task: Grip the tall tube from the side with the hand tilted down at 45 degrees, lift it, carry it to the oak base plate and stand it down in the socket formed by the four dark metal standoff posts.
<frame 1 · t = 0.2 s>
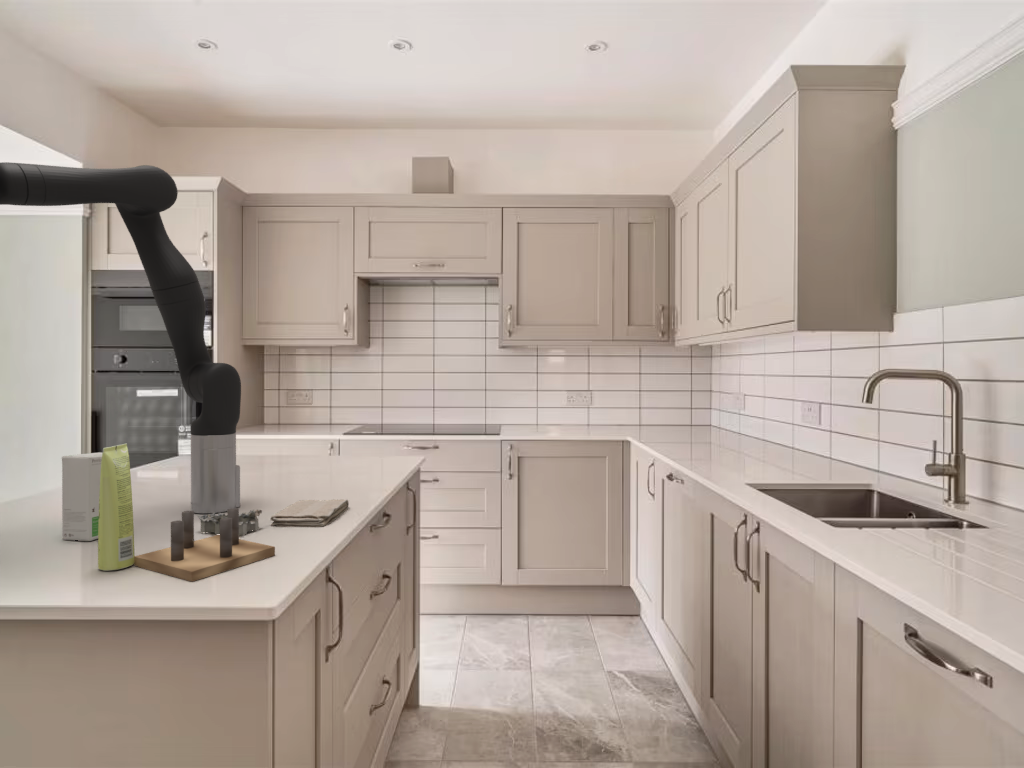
tube: (117, 567, 97), on the countertop
egg carton: (229, 533, 119), on the countertop
cradle: (206, 560, 100), on the countertop
skincare box: (94, 536, 115), on the countertop
washcloth: (311, 519, 131), on the countertop
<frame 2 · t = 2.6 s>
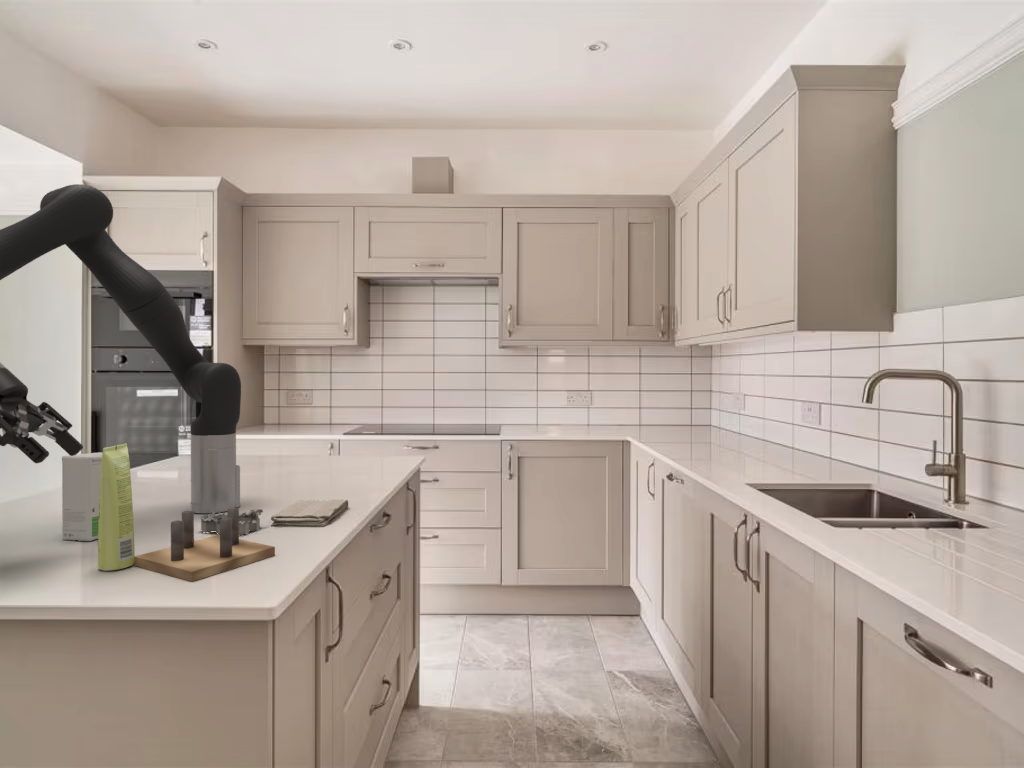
hand: (61, 455, 96), 18 cm above the countertop, tool tilted 45°, fingers open, 8 cm apart
nothing on the countertop moved.
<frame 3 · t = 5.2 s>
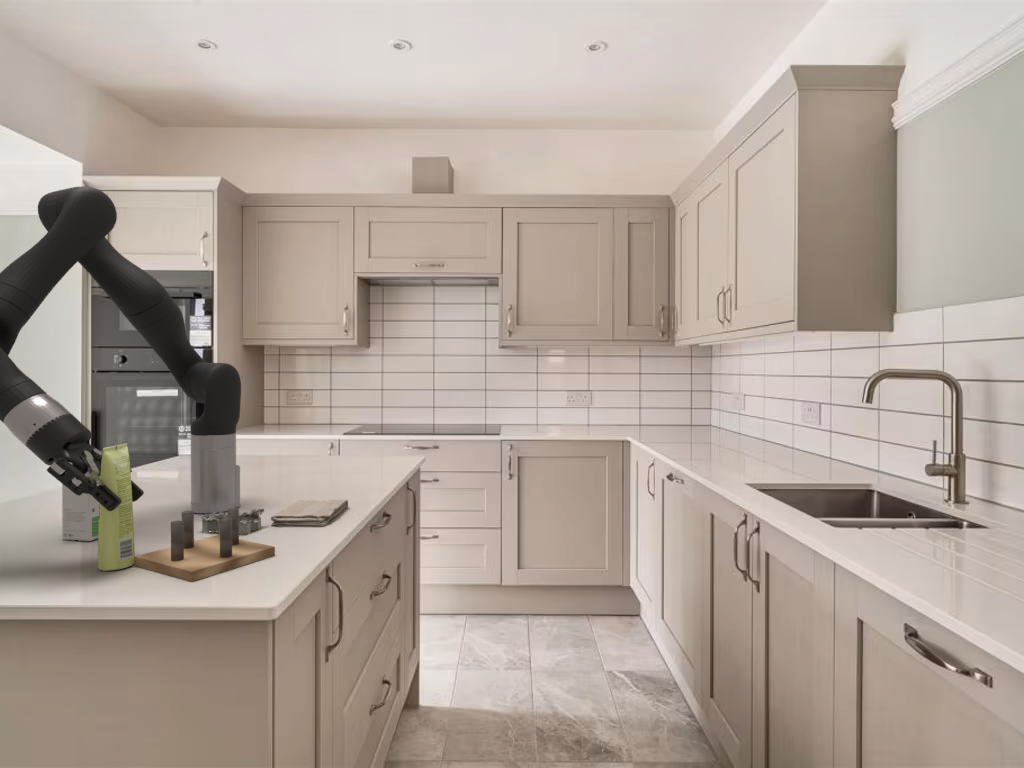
hand: (128, 501, 97), 10 cm above the countertop, tool tilted 45°, fingers closed on tube, 6 cm apart
tube: (117, 567, 97), on the countertop, touching gripper
everything else where it was.
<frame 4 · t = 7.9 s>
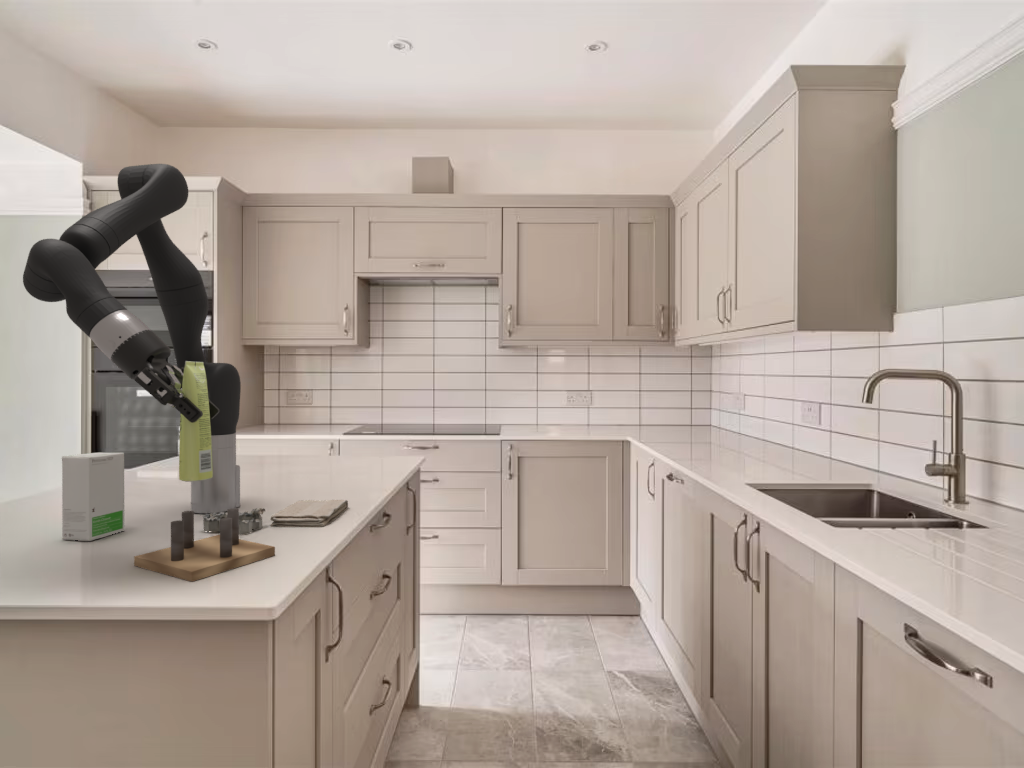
hand: (206, 416, 100), 24 cm above the countertop, tool tilted 45°, fingers closed on tube, 6 cm apart
tube: (196, 480, 100), point 13 cm above the countertop, touching gripper
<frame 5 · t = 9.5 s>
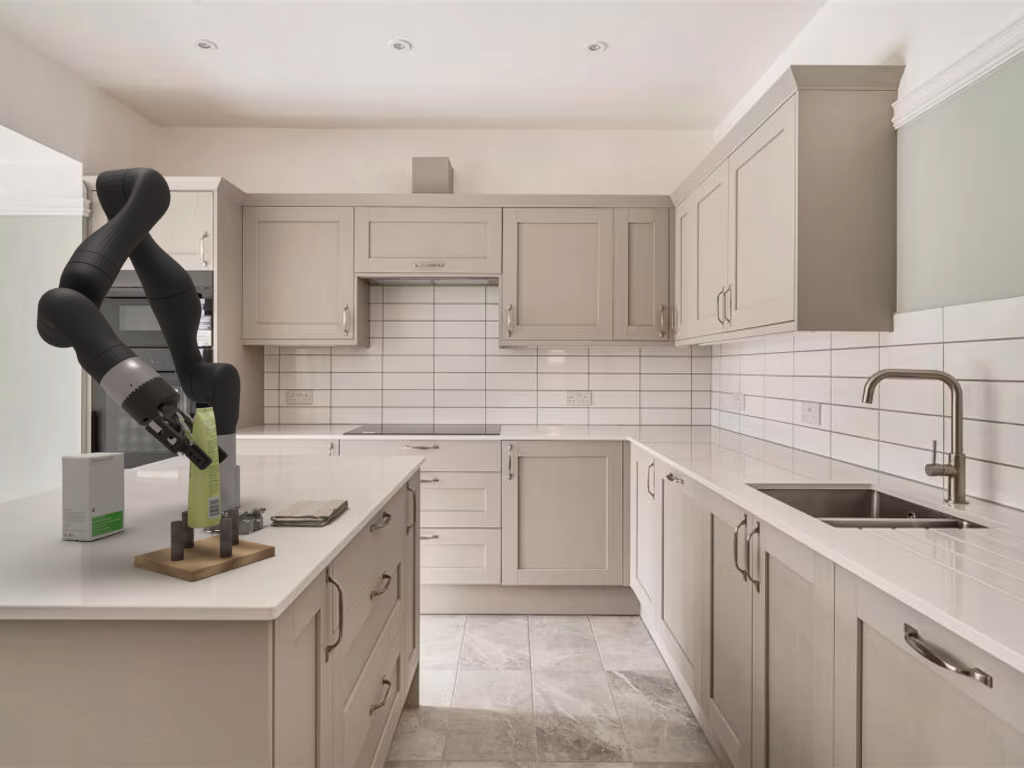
hand: (215, 462, 100), 16 cm above the countertop, tool tilted 45°, fingers closed on tube, 6 cm apart
tube: (205, 526, 100), point 6 cm above the countertop, touching gripper
when the fingers open (13 cm above the countertop, at t = 10.7 s): tube drops 1 cm, resting on cradle.
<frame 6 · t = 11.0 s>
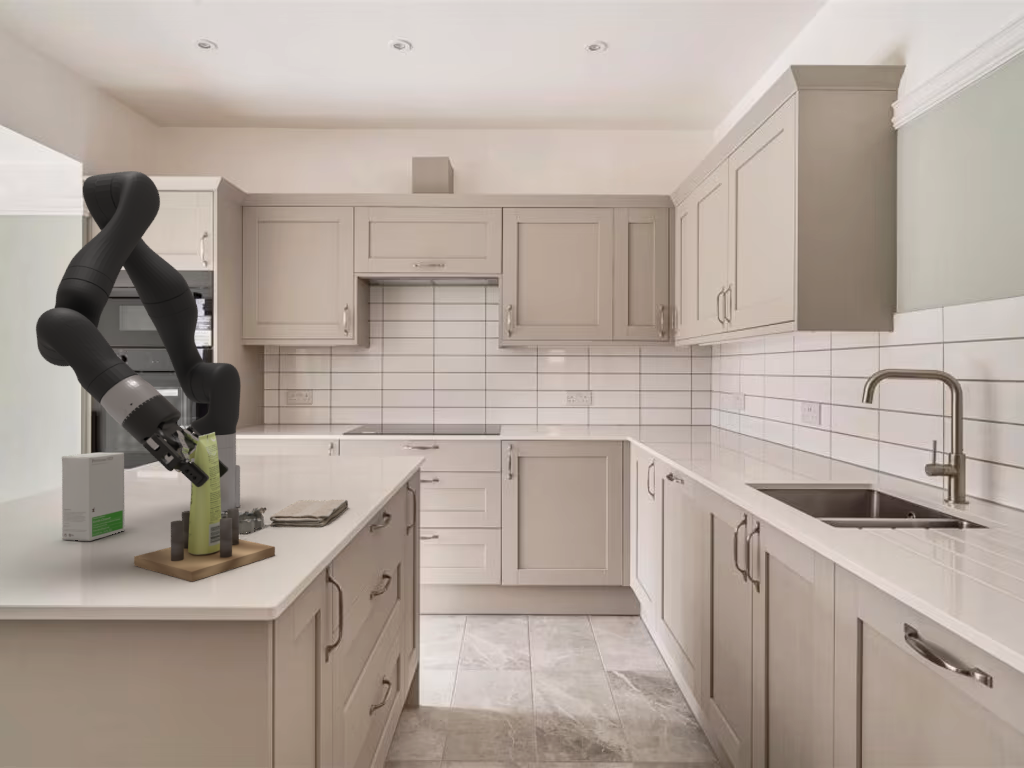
hand: (214, 478, 100), 14 cm above the countertop, tool tilted 45°, fingers open, 8 cm apart
tube: (205, 552, 100), point 1 cm above the countertop, touching cradle
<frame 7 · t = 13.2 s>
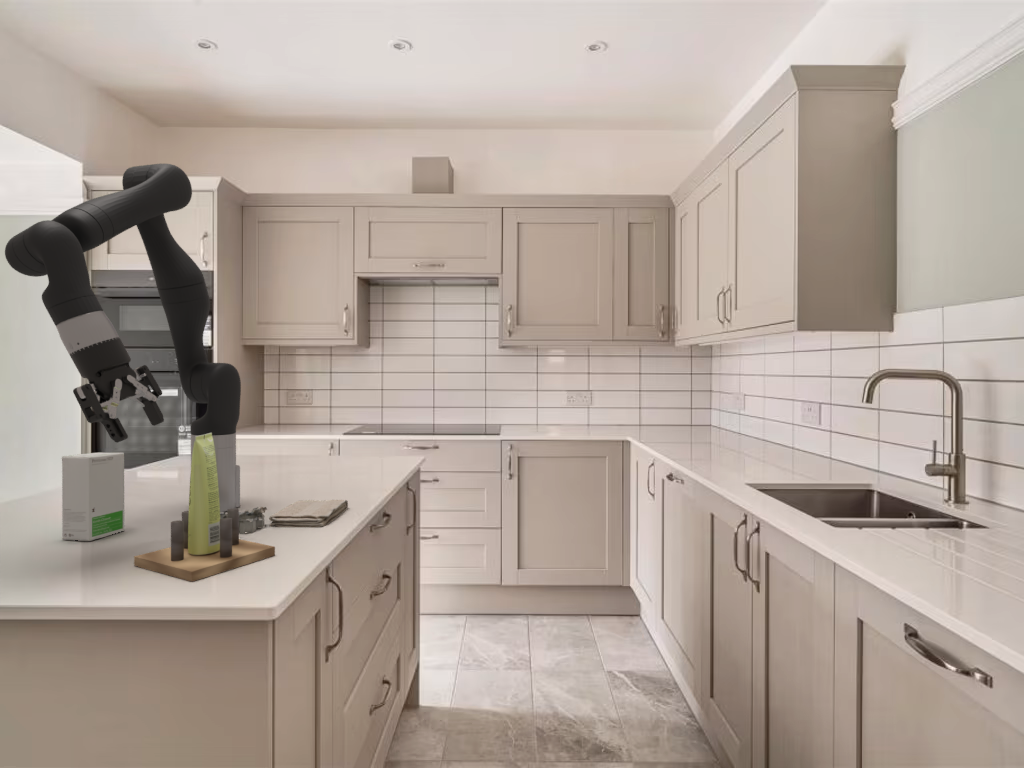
hand: (141, 431, 103), 21 cm above the countertop, tool tilted 25°, fingers open, 8 cm apart
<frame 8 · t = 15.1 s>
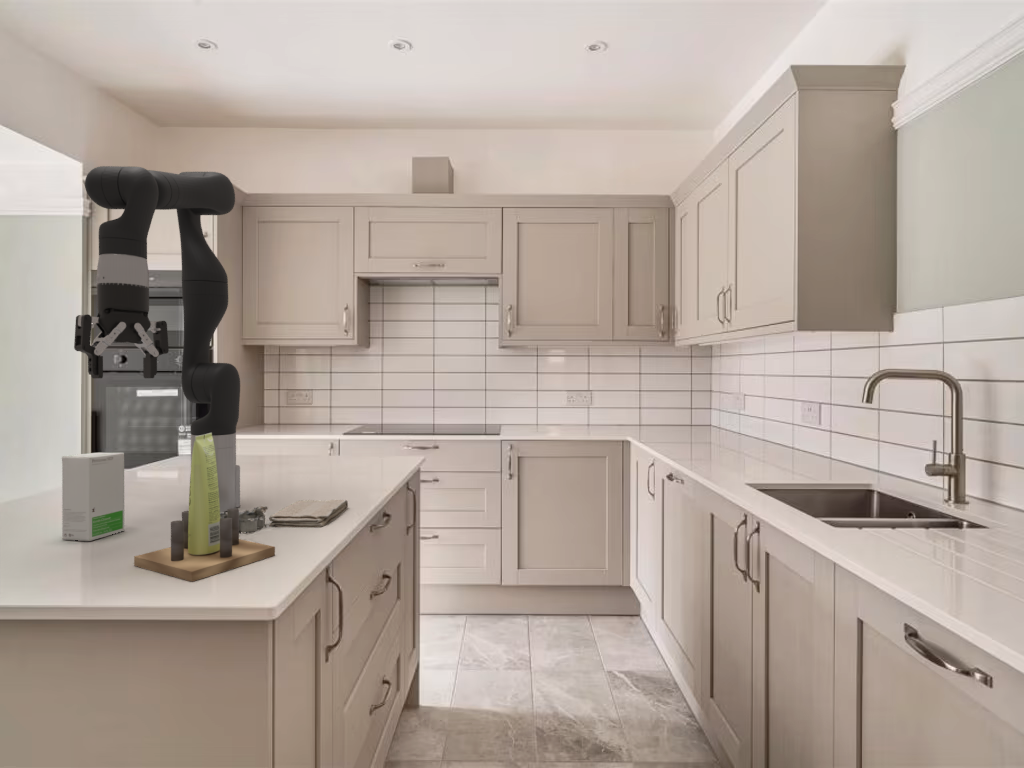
hand: (124, 378, 104), 30 cm above the countertop, tool pointing down, fingers open, 8 cm apart
at the end: tube inside the target area on the cradle (0.2 cm from its centre), point 1.3 cm above the cradle's base; tube tilted 0°; the gripper is holding nothing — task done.
